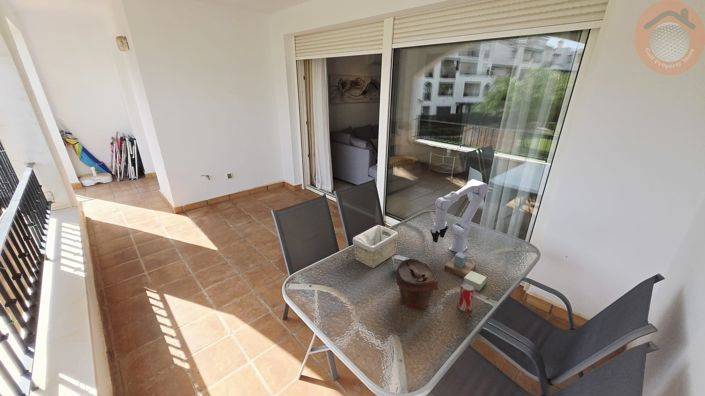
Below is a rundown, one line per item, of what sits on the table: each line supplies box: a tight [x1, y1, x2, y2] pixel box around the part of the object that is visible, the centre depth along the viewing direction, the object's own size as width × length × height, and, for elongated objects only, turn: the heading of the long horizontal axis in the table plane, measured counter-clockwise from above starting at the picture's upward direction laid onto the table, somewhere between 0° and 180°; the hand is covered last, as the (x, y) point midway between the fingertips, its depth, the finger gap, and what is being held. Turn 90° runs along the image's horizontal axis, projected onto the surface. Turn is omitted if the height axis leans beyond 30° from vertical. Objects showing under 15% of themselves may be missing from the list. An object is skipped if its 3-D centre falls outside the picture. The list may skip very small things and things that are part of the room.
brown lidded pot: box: [394, 258, 439, 311], centre depth 129 cm, size 18×20×18 cm
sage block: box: [463, 270, 487, 291], centre depth 142 cm, size 8×8×4 cm
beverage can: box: [457, 282, 476, 313], centre depth 124 cm, size 6×6×12 cm
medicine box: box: [392, 254, 411, 273], centre depth 151 cm, size 8×4×9 cm, turn 62°
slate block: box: [453, 252, 468, 268], centre depth 152 cm, size 4×4×6 cm
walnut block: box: [444, 256, 477, 278], centre depth 154 cm, size 12×12×3 cm
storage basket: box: [352, 224, 399, 269], centre depth 165 cm, size 24×16×15 cm
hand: (438, 239), depth 164 cm, fingers open, 7 cm apart
